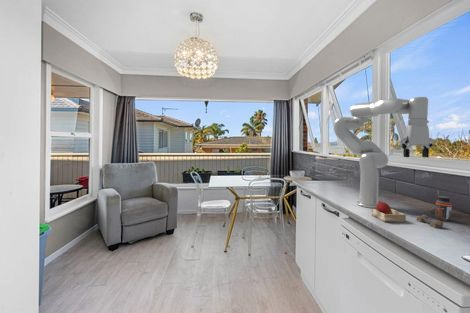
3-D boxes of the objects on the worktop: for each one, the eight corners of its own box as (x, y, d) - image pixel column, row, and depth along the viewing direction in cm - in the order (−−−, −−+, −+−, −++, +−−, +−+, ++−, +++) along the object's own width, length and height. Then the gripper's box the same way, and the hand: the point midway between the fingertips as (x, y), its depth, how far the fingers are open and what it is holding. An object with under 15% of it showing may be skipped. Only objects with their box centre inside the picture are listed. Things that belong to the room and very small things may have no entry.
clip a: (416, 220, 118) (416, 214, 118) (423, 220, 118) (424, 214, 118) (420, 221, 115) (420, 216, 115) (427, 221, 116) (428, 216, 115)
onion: (382, 216, 124) (374, 201, 127) (394, 212, 121) (385, 197, 123) (380, 218, 120) (371, 203, 122) (392, 214, 116) (383, 199, 119)
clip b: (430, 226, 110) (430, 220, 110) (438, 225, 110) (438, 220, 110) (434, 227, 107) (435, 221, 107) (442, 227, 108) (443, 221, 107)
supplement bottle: (431, 218, 121) (433, 195, 120) (439, 217, 123) (440, 195, 122) (445, 222, 115) (447, 198, 115) (453, 220, 117) (455, 197, 117)
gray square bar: (417, 218, 119) (417, 216, 119) (420, 218, 119) (420, 216, 119) (439, 227, 107) (439, 224, 107) (441, 227, 107) (442, 224, 107)
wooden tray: (371, 215, 125) (372, 209, 125) (391, 215, 125) (391, 208, 125) (384, 222, 115) (385, 214, 115) (405, 222, 115) (405, 214, 115)
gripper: (428, 123, 125) (426, 156, 126) (395, 123, 124) (393, 156, 125) (441, 122, 117) (439, 157, 118) (406, 122, 117) (404, 157, 118)
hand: (415, 157), depth 122 cm, fingers open, 9 cm apart
